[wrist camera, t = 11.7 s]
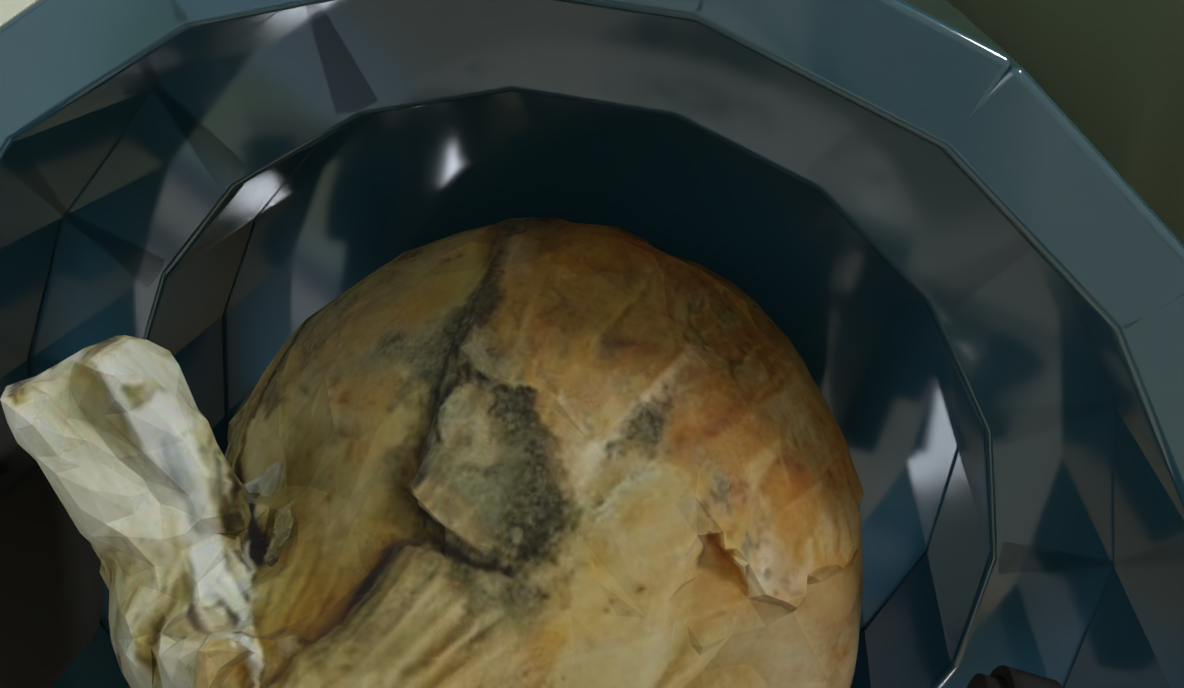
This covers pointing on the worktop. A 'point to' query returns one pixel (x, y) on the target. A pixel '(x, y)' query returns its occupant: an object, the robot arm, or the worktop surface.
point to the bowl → (672, 225)
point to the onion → (474, 484)
